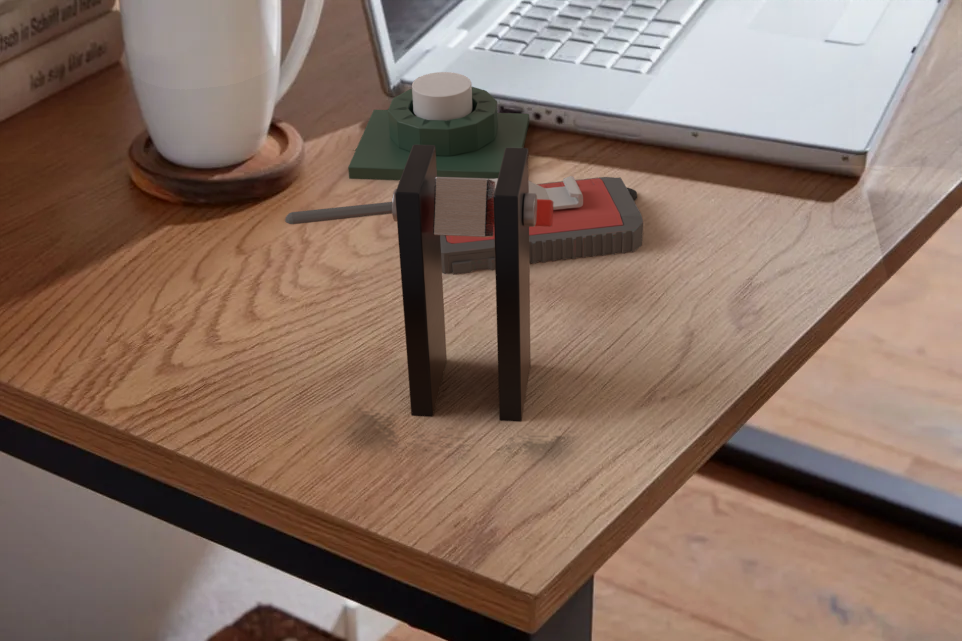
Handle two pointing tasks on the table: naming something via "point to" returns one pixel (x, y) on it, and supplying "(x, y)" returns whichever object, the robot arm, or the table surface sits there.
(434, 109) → the button
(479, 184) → the lever
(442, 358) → the bracket
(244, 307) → the table surface
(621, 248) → the walkie-talkie
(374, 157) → the switch box
